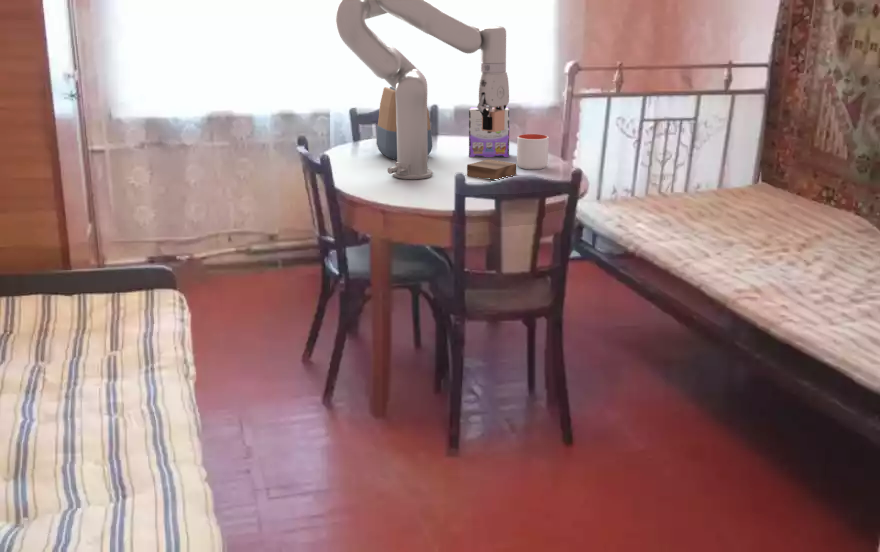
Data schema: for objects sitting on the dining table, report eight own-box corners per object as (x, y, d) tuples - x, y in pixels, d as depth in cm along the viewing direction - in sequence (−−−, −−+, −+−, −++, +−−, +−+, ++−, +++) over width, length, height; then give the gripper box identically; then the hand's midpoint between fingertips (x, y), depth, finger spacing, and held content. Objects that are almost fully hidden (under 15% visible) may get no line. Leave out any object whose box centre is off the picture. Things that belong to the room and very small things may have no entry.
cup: (528, 162, 315) (528, 132, 312) (553, 166, 309) (554, 136, 306) (510, 167, 308) (511, 137, 304) (536, 171, 302) (537, 140, 298)
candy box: (509, 154, 328) (510, 106, 323) (508, 157, 322) (509, 109, 317) (469, 153, 329) (469, 106, 324) (468, 157, 324) (468, 108, 319)
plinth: (495, 180, 290) (495, 169, 288) (467, 175, 296) (467, 164, 295) (516, 174, 298) (516, 163, 296) (488, 169, 304) (488, 159, 303)
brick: (494, 132, 289) (495, 112, 287) (481, 130, 292) (481, 110, 290) (504, 129, 293) (504, 110, 291) (491, 128, 296) (491, 108, 294)
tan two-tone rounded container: (435, 158, 322) (435, 89, 315) (389, 162, 316) (387, 92, 309) (418, 149, 337) (417, 83, 330) (373, 153, 331) (372, 86, 324)
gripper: (486, 72, 278) (486, 133, 284) (519, 66, 290) (518, 125, 296) (466, 70, 282) (466, 131, 288) (500, 65, 295) (499, 123, 301)
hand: (493, 127), depth 292 cm, fingers closed on brick, 5 cm apart
